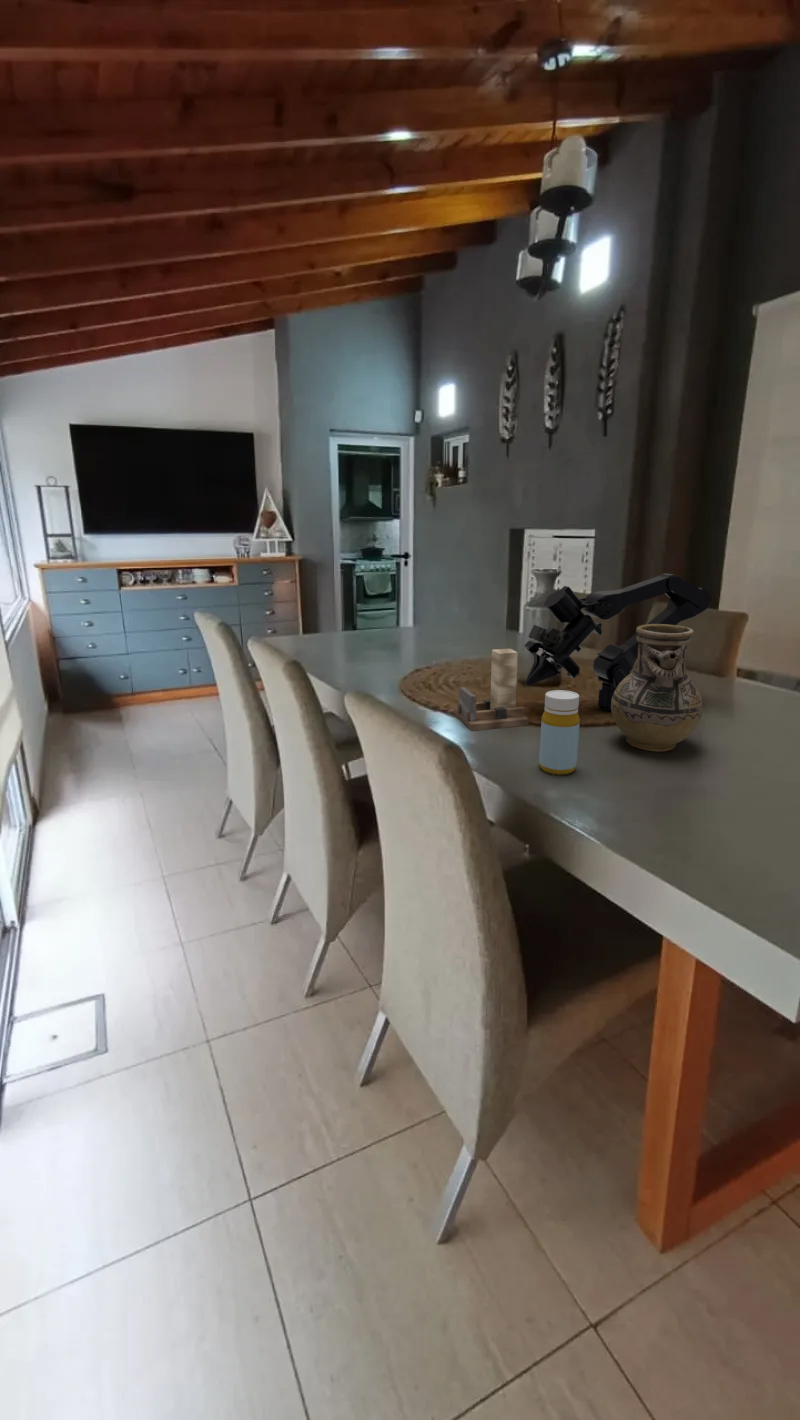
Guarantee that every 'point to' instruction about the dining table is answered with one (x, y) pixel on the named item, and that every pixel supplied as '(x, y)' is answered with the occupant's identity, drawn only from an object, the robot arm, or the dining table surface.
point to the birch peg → (503, 678)
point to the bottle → (559, 732)
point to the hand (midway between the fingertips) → (526, 684)
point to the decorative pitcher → (658, 691)
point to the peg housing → (486, 713)
